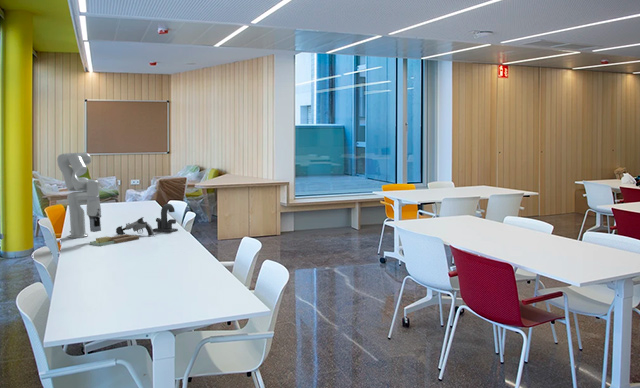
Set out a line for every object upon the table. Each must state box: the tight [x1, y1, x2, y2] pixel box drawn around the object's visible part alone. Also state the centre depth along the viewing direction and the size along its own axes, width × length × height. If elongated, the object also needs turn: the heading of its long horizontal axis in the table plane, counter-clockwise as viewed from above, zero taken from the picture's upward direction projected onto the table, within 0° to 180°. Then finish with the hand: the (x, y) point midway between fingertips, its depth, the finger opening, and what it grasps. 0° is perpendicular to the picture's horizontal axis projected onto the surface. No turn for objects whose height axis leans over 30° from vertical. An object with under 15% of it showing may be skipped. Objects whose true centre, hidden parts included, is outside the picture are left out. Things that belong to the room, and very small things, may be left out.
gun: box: [115, 216, 154, 237], centre depth 397 cm, size 5×27×15 cm, turn 76°
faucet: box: [152, 203, 179, 234], centre depth 414 cm, size 18×16×20 cm
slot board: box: [109, 233, 140, 244], centre depth 376 cm, size 14×18×2 cm
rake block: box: [88, 215, 102, 233], centre depth 371 cm, size 4×5×11 cm
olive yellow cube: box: [102, 235, 111, 242], centre depth 366 cm, size 4×4×4 cm
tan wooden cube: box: [95, 236, 105, 243], centre depth 363 cm, size 4×4×4 cm
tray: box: [89, 240, 116, 247], centre depth 364 cm, size 11×11×2 cm
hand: (95, 225), depth 371 cm, fingers closed on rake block, 4 cm apart
